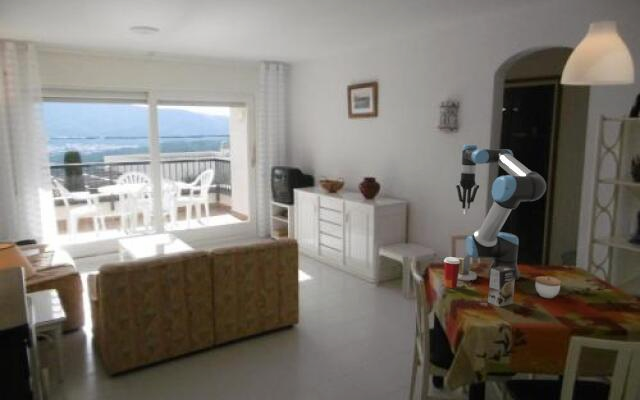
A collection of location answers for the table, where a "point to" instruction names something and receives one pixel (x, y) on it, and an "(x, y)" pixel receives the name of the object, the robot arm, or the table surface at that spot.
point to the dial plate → (467, 276)
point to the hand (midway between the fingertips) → (465, 214)
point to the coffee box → (501, 286)
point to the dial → (464, 264)
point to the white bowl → (547, 286)
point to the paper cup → (451, 271)
